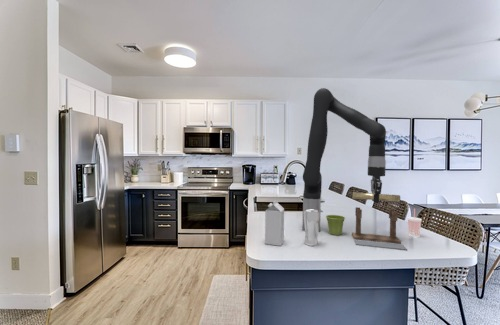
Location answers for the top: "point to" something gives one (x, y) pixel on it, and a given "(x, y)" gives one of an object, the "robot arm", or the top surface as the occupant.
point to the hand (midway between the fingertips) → (375, 201)
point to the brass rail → (381, 197)
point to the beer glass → (311, 226)
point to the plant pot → (335, 224)
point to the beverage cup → (414, 226)
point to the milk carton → (274, 224)
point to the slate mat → (380, 245)
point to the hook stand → (378, 238)
